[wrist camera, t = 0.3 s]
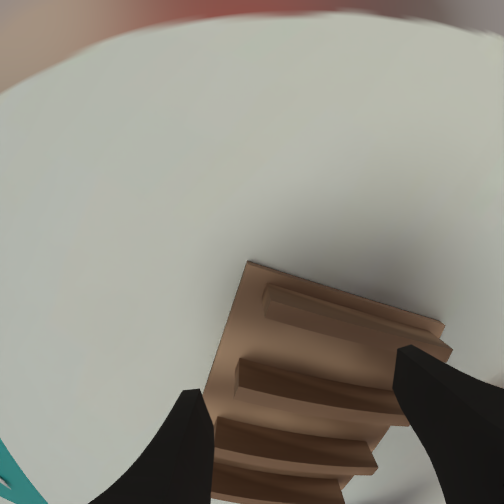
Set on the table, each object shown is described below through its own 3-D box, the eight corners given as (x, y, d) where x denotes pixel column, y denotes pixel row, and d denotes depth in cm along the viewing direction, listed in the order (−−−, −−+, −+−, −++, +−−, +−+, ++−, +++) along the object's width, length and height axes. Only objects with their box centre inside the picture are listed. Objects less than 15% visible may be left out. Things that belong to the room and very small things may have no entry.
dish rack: (340, 482, 24) (350, 514, 19) (181, 457, 23) (173, 493, 18) (438, 321, 21) (470, 342, 17) (247, 260, 20) (247, 277, 16)
